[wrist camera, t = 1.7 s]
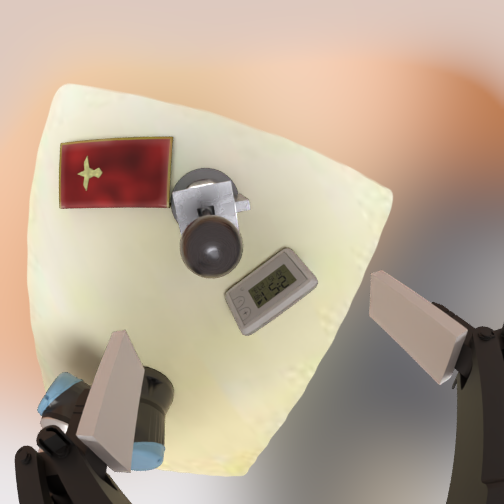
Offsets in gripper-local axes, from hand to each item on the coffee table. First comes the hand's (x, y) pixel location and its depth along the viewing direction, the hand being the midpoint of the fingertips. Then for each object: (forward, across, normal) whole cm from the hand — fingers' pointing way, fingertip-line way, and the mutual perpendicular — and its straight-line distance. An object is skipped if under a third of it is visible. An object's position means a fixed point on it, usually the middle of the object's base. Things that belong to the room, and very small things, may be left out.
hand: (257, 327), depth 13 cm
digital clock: (+38, +6, -15) cm, 41 cm away
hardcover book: (+38, -16, +10) cm, 43 cm away
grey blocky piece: (+37, -2, +2) cm, 37 cm away
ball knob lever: (+27, -2, +2) cm, 27 cm away
